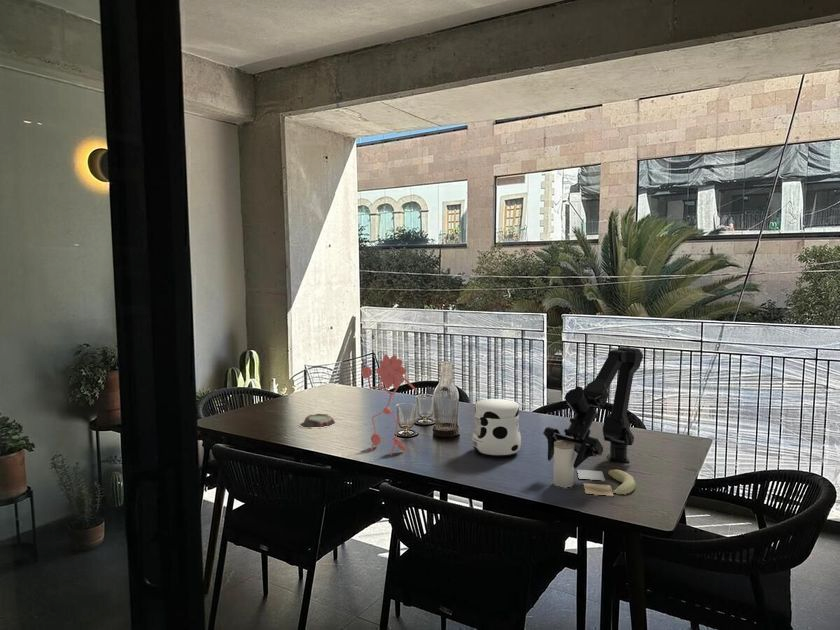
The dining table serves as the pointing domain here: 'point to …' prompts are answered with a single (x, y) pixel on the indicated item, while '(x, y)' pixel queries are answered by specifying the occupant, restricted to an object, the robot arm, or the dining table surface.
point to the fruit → (623, 481)
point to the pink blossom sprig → (389, 375)
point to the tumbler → (563, 463)
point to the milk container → (496, 428)
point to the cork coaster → (598, 489)
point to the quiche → (318, 420)
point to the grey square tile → (590, 475)
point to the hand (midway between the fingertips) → (561, 463)
